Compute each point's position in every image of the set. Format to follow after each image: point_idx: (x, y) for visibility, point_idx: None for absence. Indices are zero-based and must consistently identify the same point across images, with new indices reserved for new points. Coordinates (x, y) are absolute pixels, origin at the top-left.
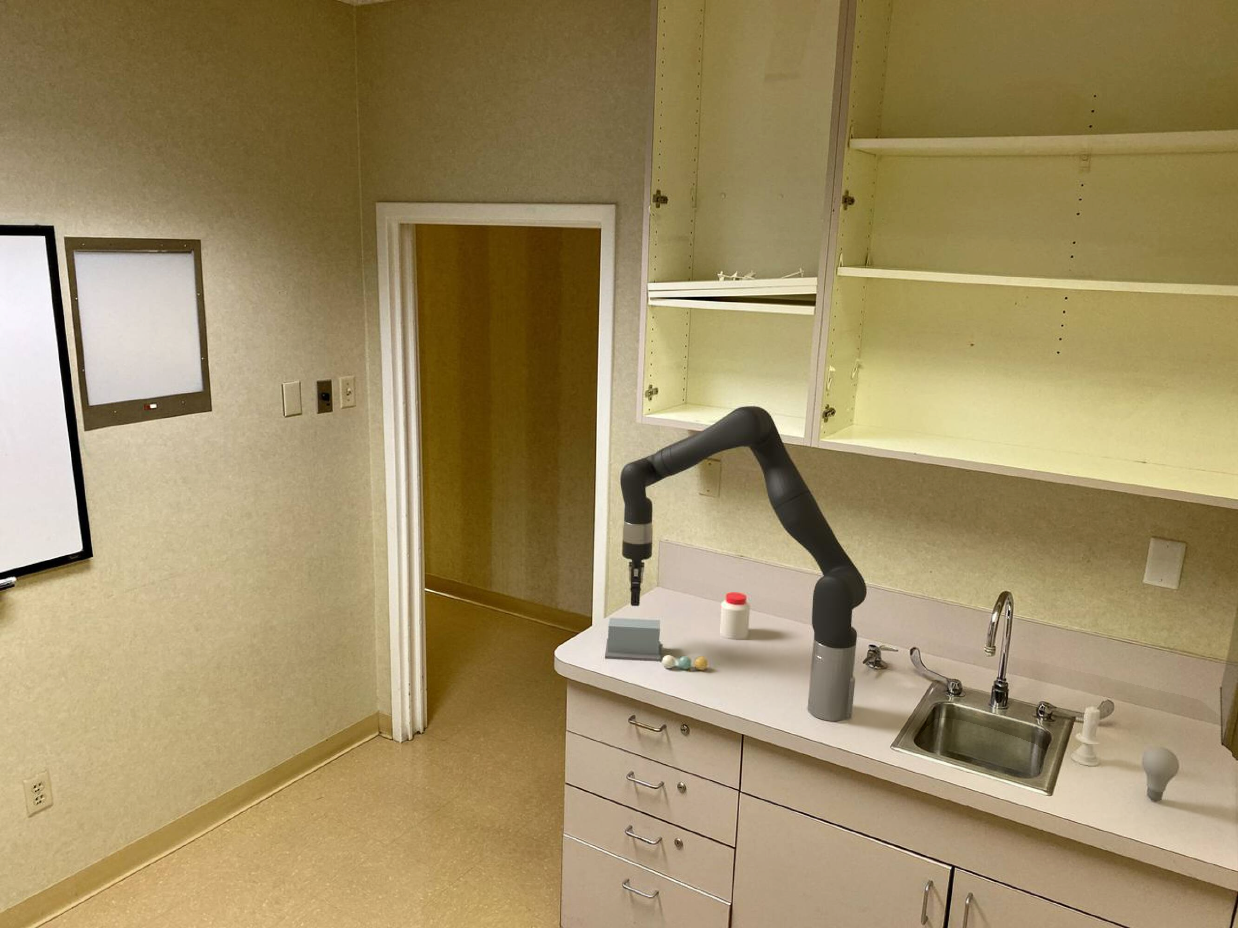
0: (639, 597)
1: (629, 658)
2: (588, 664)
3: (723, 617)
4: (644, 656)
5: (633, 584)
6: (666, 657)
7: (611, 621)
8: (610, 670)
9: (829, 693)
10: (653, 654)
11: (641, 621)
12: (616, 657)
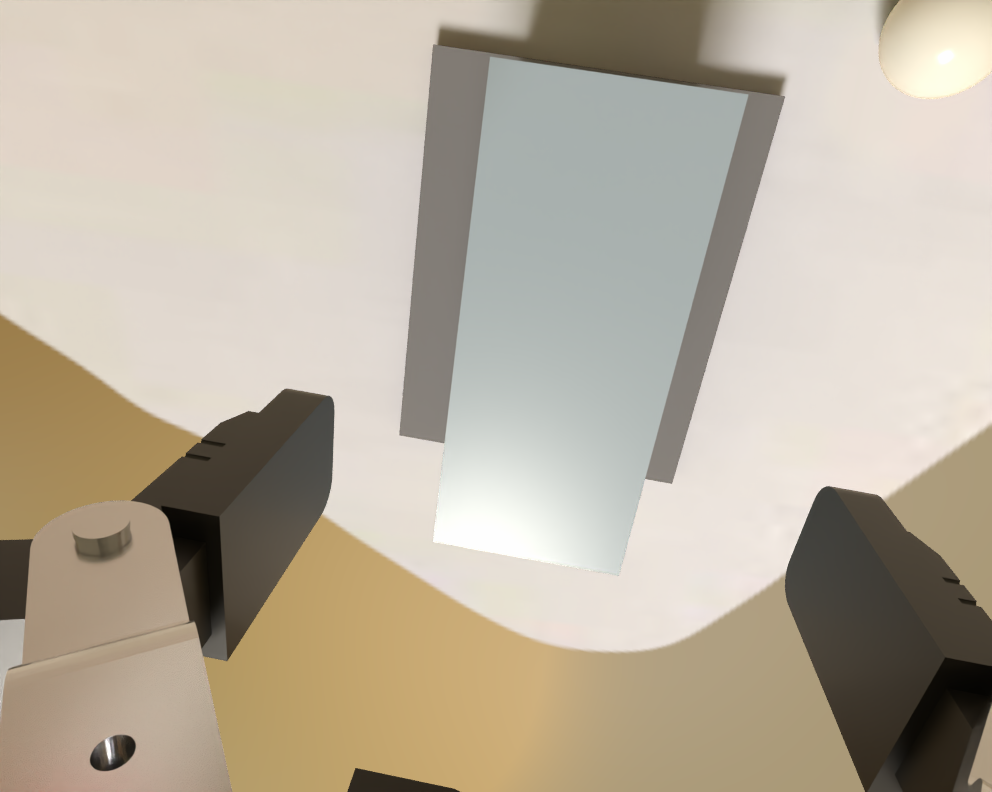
0: (943, 583)
1: (713, 332)
2: (743, 568)
3: None
4: (714, 223)
5: (263, 577)
6: (984, 60)
7: (518, 540)
8: (855, 466)
9: None
10: None
11: (525, 279)
12: (689, 414)
